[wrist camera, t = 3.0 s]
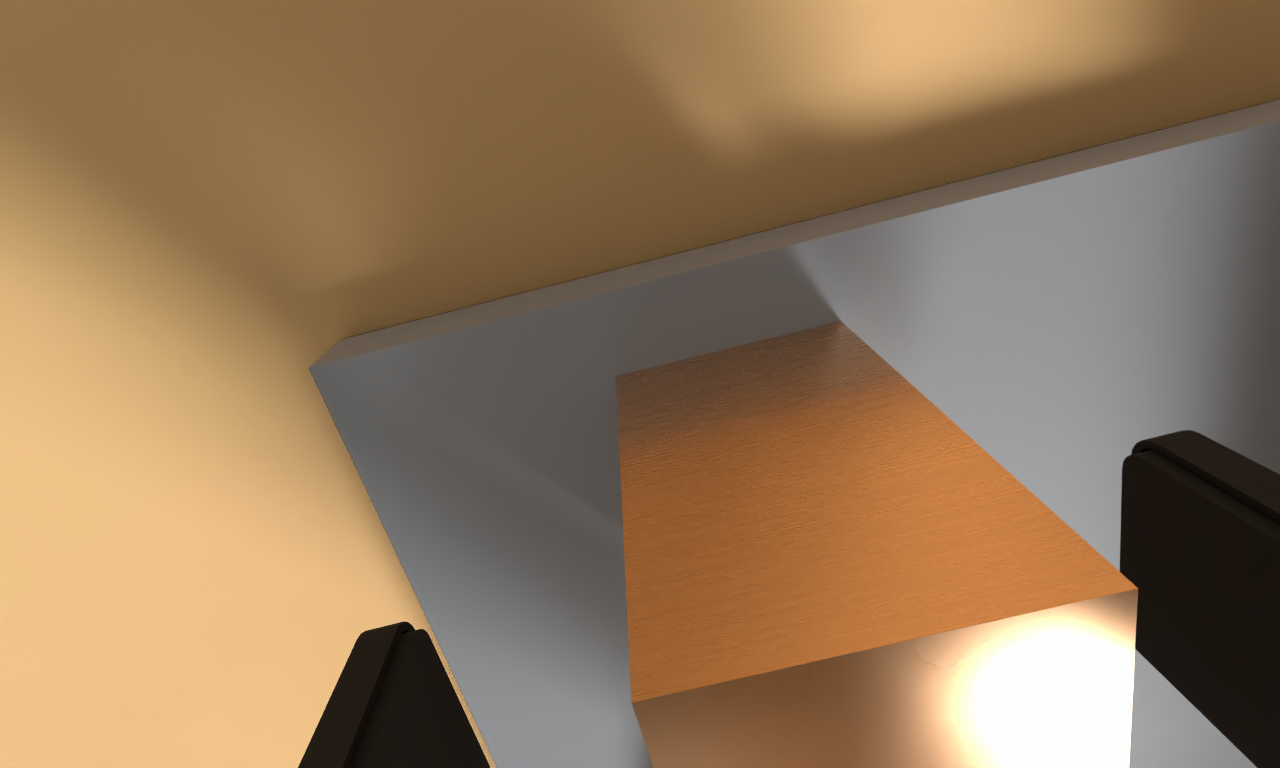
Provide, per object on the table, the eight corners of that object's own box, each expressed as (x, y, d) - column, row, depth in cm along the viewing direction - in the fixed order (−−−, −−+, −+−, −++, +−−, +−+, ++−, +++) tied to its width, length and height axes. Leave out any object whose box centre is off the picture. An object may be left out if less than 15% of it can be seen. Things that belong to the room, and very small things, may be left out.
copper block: (840, 320, 12) (1137, 587, 5) (866, 511, 13) (1121, 902, 7) (615, 376, 12) (632, 702, 5) (667, 558, 13) (727, 983, 7)
